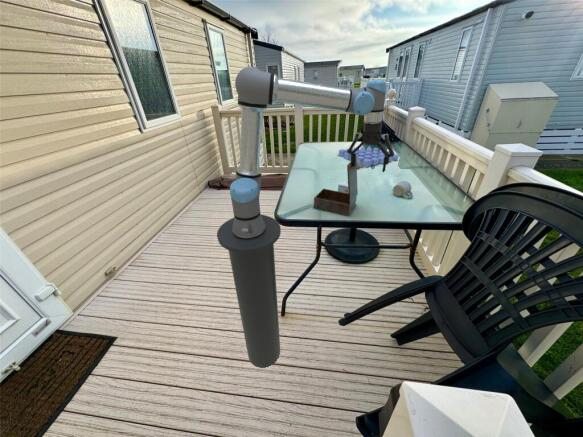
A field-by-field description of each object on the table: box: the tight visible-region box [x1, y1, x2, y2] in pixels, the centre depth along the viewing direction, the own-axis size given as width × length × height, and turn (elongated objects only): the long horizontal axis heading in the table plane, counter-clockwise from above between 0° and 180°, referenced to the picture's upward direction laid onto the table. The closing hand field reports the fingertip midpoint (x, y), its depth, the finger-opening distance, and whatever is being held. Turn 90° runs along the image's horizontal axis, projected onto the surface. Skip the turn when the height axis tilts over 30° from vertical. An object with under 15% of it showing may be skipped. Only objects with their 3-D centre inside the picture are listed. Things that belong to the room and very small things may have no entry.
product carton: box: [337, 180, 348, 193], centre depth 143 cm, size 6×6×7 cm
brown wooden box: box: [313, 188, 358, 217], centre depth 131 cm, size 19×13×6 cm
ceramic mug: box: [392, 180, 414, 200], centre depth 141 cm, size 11×8×8 cm
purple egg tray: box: [338, 145, 399, 168], centre depth 203 cm, size 35×34×5 cm
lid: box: [346, 157, 363, 205], centre depth 120 cm, size 20×13×5 cm
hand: (368, 169), depth 115 cm, fingers open, 13 cm apart
